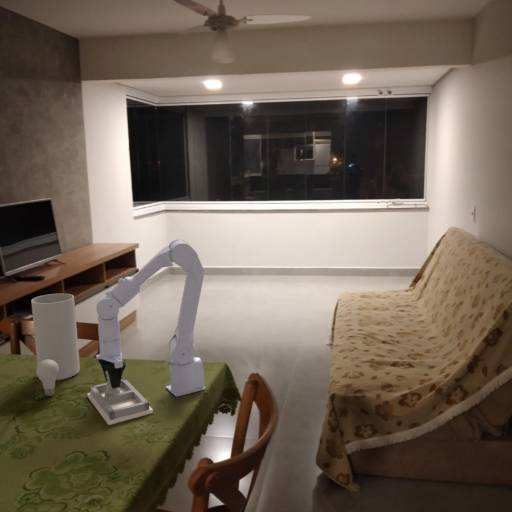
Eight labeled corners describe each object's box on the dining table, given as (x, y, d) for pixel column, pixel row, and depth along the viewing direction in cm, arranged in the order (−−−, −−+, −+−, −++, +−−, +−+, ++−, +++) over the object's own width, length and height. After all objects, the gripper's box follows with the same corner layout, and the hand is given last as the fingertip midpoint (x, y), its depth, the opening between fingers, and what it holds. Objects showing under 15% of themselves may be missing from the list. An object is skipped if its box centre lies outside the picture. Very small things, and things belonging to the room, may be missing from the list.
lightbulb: (53, 401, 150) (50, 364, 148) (34, 399, 152) (30, 363, 150) (65, 392, 156) (62, 356, 154) (46, 390, 157) (43, 355, 156)
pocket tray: (128, 386, 159) (127, 377, 159) (153, 412, 142) (152, 402, 141) (87, 396, 153) (86, 386, 152) (108, 425, 136) (107, 414, 135)
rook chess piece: (107, 392, 153) (105, 365, 152) (122, 392, 153) (120, 365, 152) (102, 398, 149) (100, 371, 147) (118, 398, 149) (116, 371, 147)
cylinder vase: (72, 381, 164) (65, 303, 160) (32, 382, 164) (24, 303, 160) (85, 366, 176) (79, 293, 172) (48, 366, 177) (41, 293, 172)
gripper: (88, 334, 152) (91, 379, 155) (102, 348, 140) (106, 396, 142) (112, 329, 156) (115, 373, 158) (128, 343, 144) (131, 390, 146)
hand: (113, 384), depth 151 cm, fingers open, 5 cm apart
